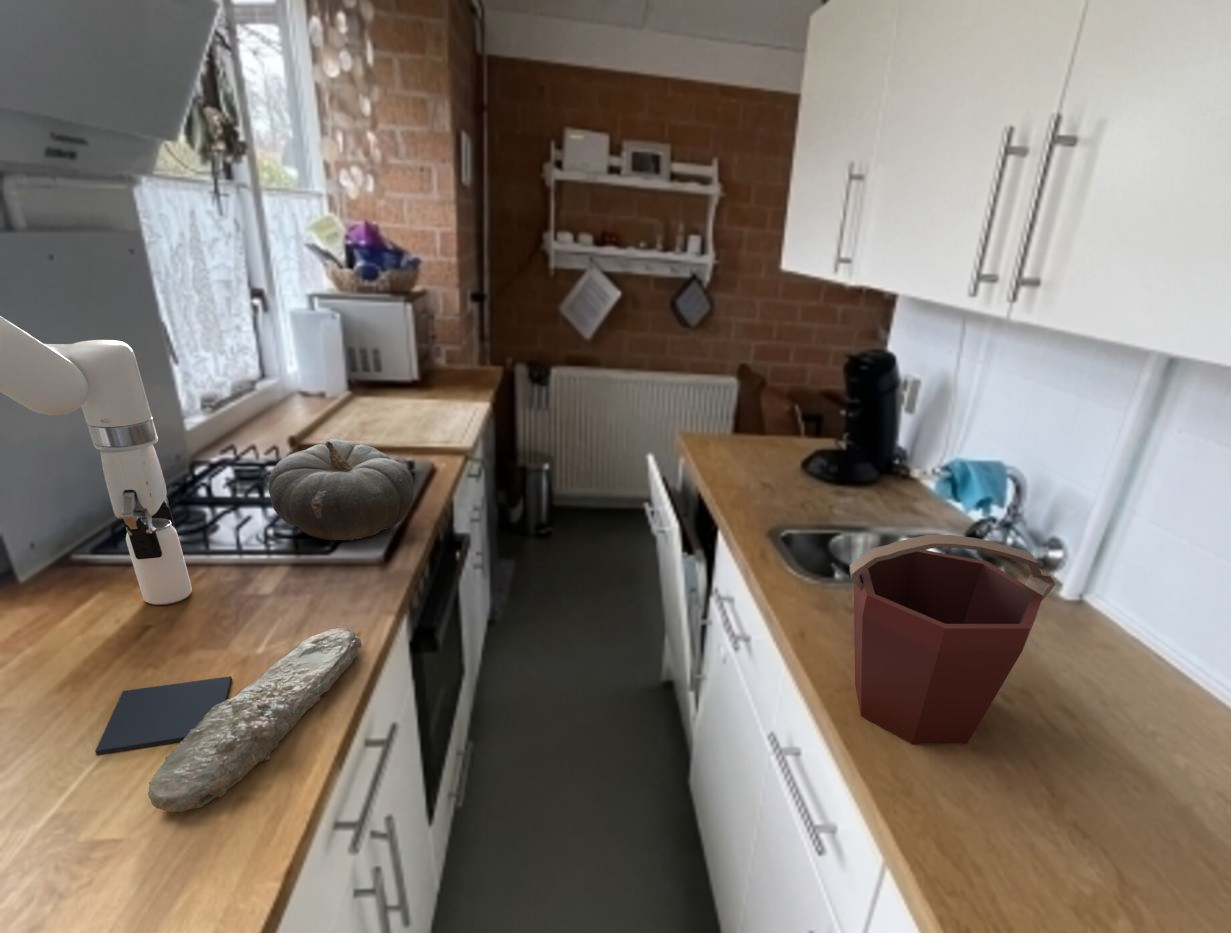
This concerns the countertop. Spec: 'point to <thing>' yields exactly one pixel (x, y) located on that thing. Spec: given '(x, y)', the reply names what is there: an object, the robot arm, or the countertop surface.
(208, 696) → the mat
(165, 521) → the can
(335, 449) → the gourd
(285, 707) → the long grey stone
